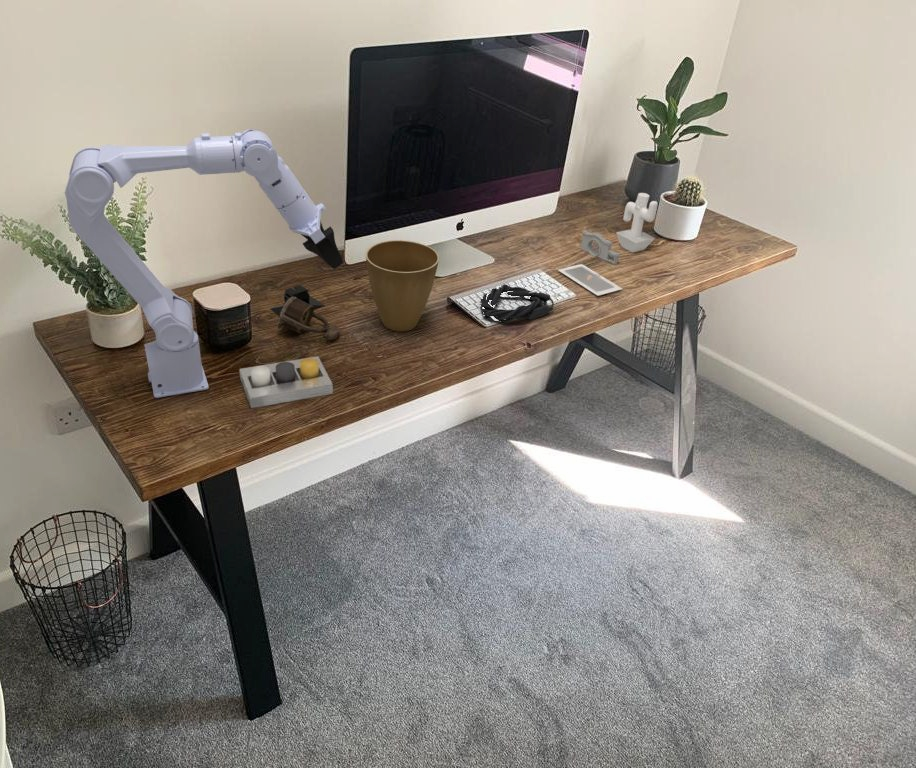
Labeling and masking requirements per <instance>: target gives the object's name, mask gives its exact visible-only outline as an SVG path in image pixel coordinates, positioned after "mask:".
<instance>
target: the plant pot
mask: <svg viewBox="0 0 916 768" xmlns="http://www.w3.org/2000/svg"><path fill="white" fill-rule="evenodd" d="M365 260H366V261H365V262H366V268H367V273H368V278H369V285H370V288H371V293H372V296H373V299H374V303H375V306H376V310H377V313H378V315H379V317H380V320H381V323H382V325H383V326H384V327H385V328H386V329H388V330H392V331H393V332H394V331H396V332H407V331H410V330H413V329H414V328H415V327H417V325H418V324H419V321H420V319H421V317H422V315H423V313H424V310H425V308H426V305H427V303H428V301H429V298H430V295H431V293H432V289H433V285H434V281H435V278H436V274H437V270H438V264H439V261H440V256H439V254H438V252H437V251H436V250H435V249H434V248H432V247H431V246H429V245H426V244H423V243H420V242H417V241H411V240H403V239H400V240H399V239H395V240H385V241H381V242H378V243H375V244H373V245H371V246H370V247H369V248H367V250H366V251H365Z"/></svg>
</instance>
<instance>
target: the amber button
mask: <svg viewBox="0 0 916 768" xmlns="http://www.w3.org/2000/svg"><path fill="white" fill-rule="evenodd" d="M304 358H305V357H304ZM304 358H302V359H303V360H301V361H300V379H301V380H305V379H311V378H317V377H319V365H318V361H317V360H316V359H314V358H310V357H306V358H305V359H304Z"/></svg>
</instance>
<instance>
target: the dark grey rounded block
mask: <svg viewBox="0 0 916 768" xmlns="http://www.w3.org/2000/svg"><path fill="white" fill-rule="evenodd" d="M278 363H279V362H278ZM276 380H277V381H276V383H277V384H282V383H288V382H294V381H296V380H295V367H294V364H292V363H290V362H286V361H281V363H279V364H277V365H276Z"/></svg>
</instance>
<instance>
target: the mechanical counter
mask: <svg viewBox="0 0 916 768" xmlns="http://www.w3.org/2000/svg"><path fill="white" fill-rule="evenodd" d="M283 304H284V306H283V308H282V309H281V311H280V316H279V318H278V322H277V325H276V329H281V328H282V327H286V328H287V329H289V330H291V331H293V332H295V333H297V334H301V333H303V331H306V332H310V333H314V334H324V338H325V339H326V340H327V341H332V340H335V339H336V338H338V337H339V335H340V333H341V331H340V330H341V329H340V327H339V326H337V325H333V326H331V327H330V323H329V322H328V320H327V319H326V318H325V317H323V316H322V315H320V314H318V313H316V312H315V310H314V309H313V306H312V305H310V304H308V303H306V302H304V301H302V300H300V299H298V298H296V297H291V298H290V299H289V300H287V301H286V303H283ZM313 318H315V319H317V320H319V321H320V322H322V323H323V325H324V326H325V327H324V328H315V327H312V326H309V324H310V322H311V320H312V319H313Z"/></svg>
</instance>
